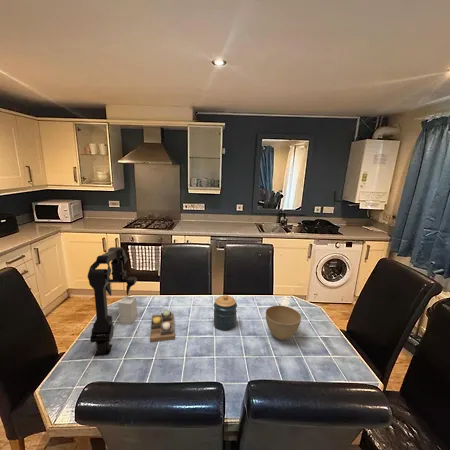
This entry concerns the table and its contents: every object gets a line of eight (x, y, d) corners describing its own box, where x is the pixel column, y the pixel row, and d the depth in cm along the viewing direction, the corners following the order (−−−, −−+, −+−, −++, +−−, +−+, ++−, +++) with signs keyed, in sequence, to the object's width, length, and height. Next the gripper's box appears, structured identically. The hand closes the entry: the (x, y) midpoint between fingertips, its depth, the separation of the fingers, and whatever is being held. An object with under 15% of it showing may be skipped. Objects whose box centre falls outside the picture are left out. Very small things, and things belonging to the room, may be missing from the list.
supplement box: (137, 316, 146) (136, 297, 144) (132, 324, 139) (130, 303, 137) (125, 315, 147) (124, 296, 144) (119, 323, 140) (117, 302, 137)
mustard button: (160, 324, 134) (160, 320, 133) (153, 325, 133) (152, 321, 132) (160, 320, 137) (160, 316, 137) (153, 321, 136) (153, 317, 136)
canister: (227, 334, 133) (228, 303, 129) (208, 325, 140) (208, 295, 136) (240, 322, 143) (241, 294, 139) (222, 314, 150) (223, 287, 147)
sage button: (169, 317, 140) (169, 313, 140) (162, 318, 139) (162, 313, 139) (169, 313, 144) (169, 309, 143) (163, 314, 143) (162, 310, 143)
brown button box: (174, 339, 128) (174, 332, 127) (150, 342, 125) (149, 335, 124) (173, 316, 148) (173, 310, 147) (152, 318, 145) (152, 312, 144)
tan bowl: (300, 349, 123) (302, 326, 120) (263, 343, 126) (264, 321, 123) (297, 327, 140) (299, 307, 137) (265, 322, 143) (266, 303, 141)
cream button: (170, 330, 129) (170, 326, 128) (162, 331, 128) (162, 326, 128) (170, 325, 133) (169, 321, 132) (162, 326, 132) (162, 322, 131)
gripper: (138, 263, 148) (139, 288, 151) (105, 264, 146) (107, 289, 149) (133, 271, 137) (134, 297, 140) (97, 271, 135) (99, 298, 138)
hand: (119, 295), depth 142 cm, fingers open, 9 cm apart
